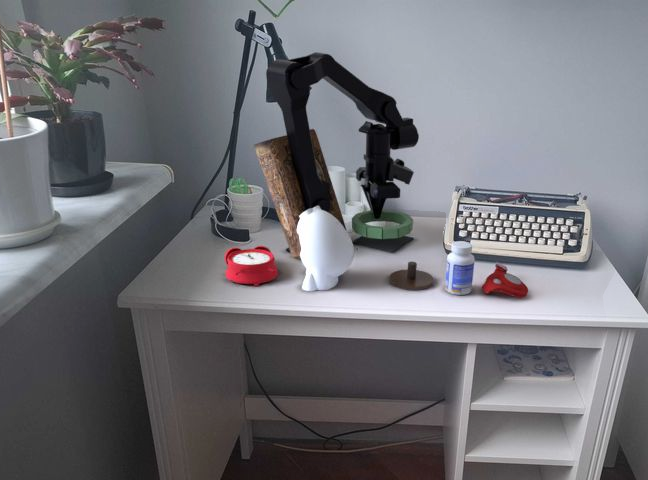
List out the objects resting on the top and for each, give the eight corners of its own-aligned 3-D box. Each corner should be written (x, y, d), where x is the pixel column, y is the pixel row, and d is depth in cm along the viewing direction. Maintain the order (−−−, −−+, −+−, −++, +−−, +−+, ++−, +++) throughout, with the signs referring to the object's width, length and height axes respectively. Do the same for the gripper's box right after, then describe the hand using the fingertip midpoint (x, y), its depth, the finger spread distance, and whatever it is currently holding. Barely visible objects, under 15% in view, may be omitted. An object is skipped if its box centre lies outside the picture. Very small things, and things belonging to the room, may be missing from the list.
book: (308, 256, 136) (269, 139, 128) (289, 260, 139) (249, 145, 131) (348, 235, 149) (315, 128, 141) (330, 239, 152) (296, 134, 144)
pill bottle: (476, 291, 128) (482, 245, 123) (459, 298, 124) (464, 251, 120) (456, 282, 131) (460, 237, 126) (439, 289, 128) (442, 243, 123)
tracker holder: (540, 290, 127) (505, 288, 121) (529, 308, 129) (495, 307, 123) (505, 257, 134) (470, 254, 128) (495, 275, 136) (461, 272, 130)
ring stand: (381, 283, 128) (381, 265, 127) (401, 269, 136) (402, 252, 134) (422, 293, 125) (423, 275, 123) (440, 278, 132) (441, 260, 131)
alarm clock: (228, 272, 120) (218, 231, 130) (229, 298, 124) (220, 256, 135) (282, 268, 123) (269, 228, 134) (282, 293, 128) (269, 252, 138)
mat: (351, 244, 148) (351, 241, 148) (373, 231, 157) (373, 229, 157) (393, 253, 144) (393, 250, 144) (413, 239, 153) (413, 237, 153)
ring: (340, 231, 147) (339, 221, 145) (371, 215, 158) (371, 206, 156) (394, 243, 141) (394, 233, 140) (422, 225, 152) (423, 216, 151)
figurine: (353, 270, 134) (354, 200, 127) (353, 292, 124) (354, 218, 117) (300, 268, 133) (298, 198, 126) (296, 290, 123) (293, 216, 116)
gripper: (423, 160, 141) (419, 228, 149) (399, 143, 156) (396, 205, 164) (375, 161, 138) (373, 230, 145) (355, 143, 153) (355, 206, 161)
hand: (376, 217), depth 154 cm, fingers closed on ring, 2 cm apart
